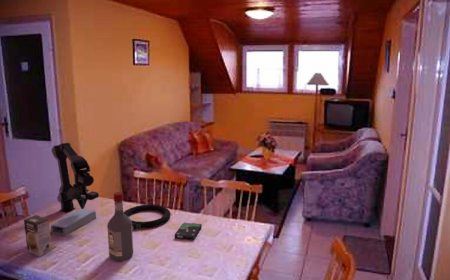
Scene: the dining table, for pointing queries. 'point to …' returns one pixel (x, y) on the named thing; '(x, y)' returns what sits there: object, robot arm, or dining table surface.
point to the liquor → (120, 232)
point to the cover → (73, 218)
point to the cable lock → (148, 223)
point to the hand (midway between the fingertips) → (82, 208)
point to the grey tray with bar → (73, 226)
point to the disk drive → (188, 231)
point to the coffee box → (37, 235)
